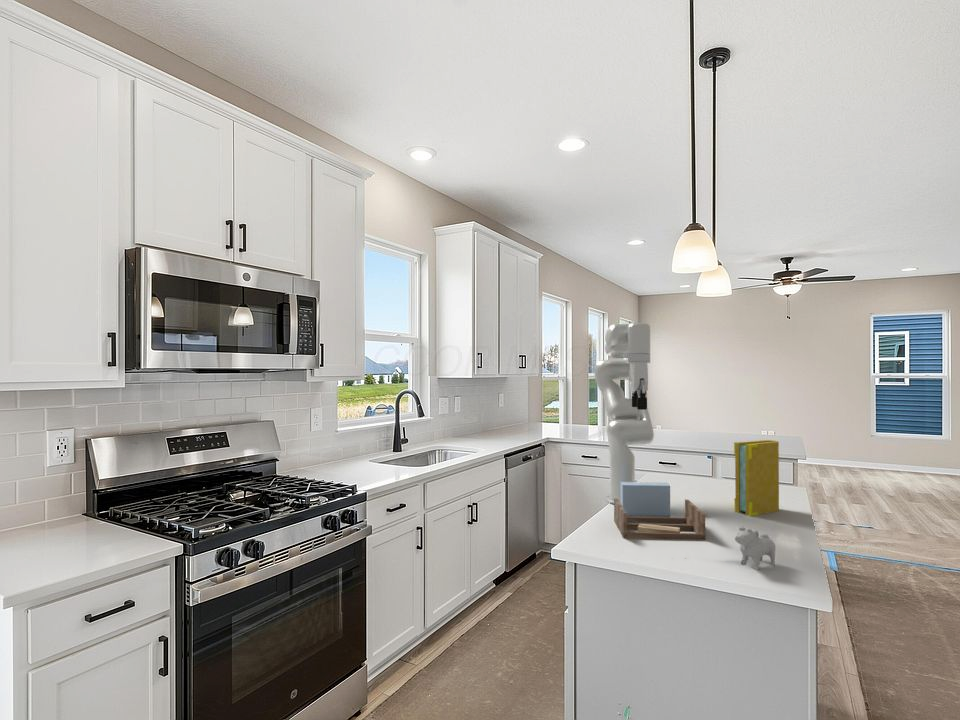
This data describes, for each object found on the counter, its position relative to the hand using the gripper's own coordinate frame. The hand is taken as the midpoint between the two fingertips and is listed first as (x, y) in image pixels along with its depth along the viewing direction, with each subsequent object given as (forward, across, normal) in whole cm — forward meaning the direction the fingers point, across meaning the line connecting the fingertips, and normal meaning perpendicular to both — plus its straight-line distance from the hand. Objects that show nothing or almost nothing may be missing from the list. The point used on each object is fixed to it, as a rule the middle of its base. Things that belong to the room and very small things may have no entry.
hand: (639, 408), depth 196 cm
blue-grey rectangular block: (+38, -1, +2) cm, 38 cm away
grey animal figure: (+39, +43, +22) cm, 62 cm away
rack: (+38, +18, +2) cm, 42 cm away
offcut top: (+37, +22, +2) cm, 43 cm away
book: (+38, -13, +45) cm, 61 cm away
